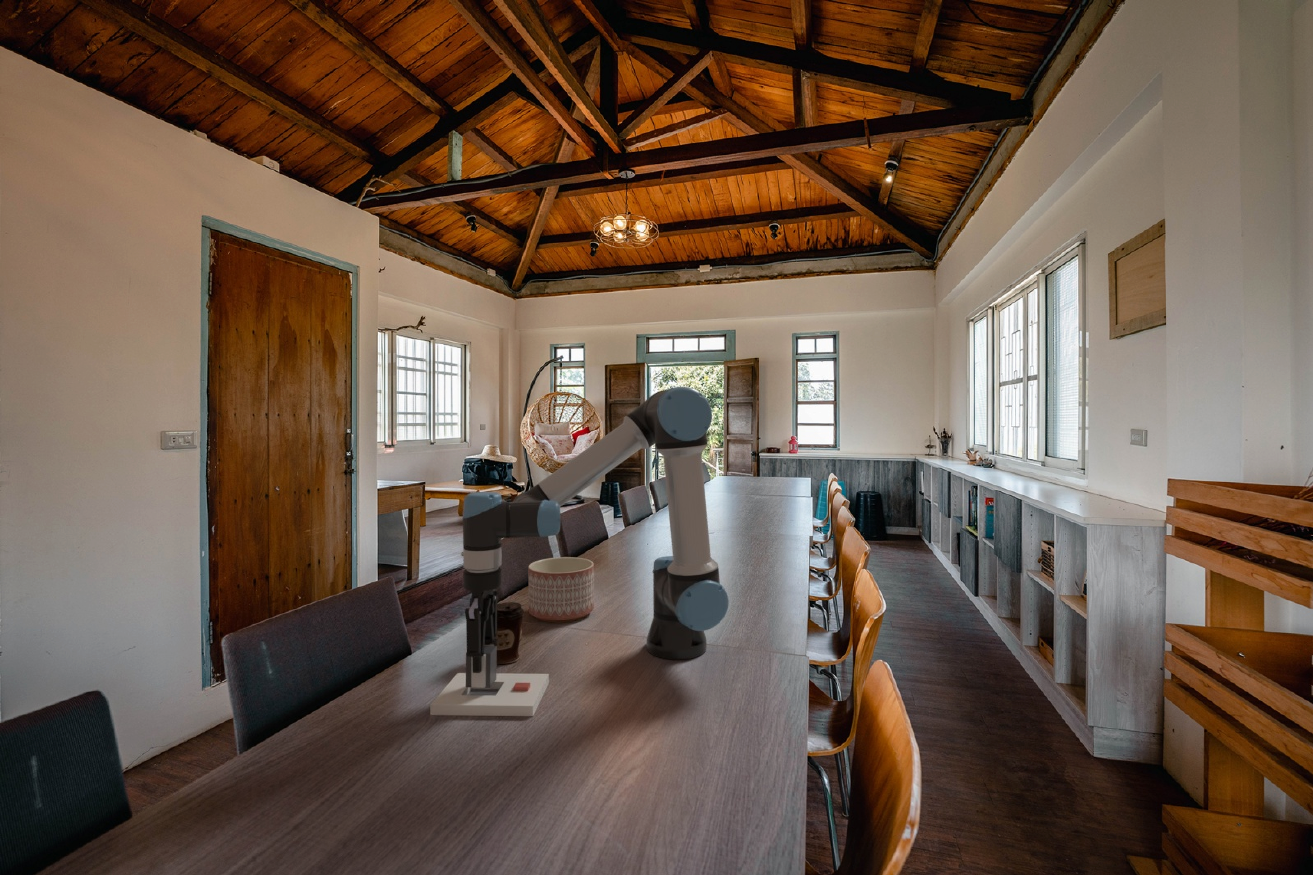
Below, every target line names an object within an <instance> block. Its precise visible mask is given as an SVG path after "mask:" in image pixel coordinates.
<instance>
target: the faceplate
mask: <svg viewBox="0 0 1313 875" xmlns="http://www.w3.org/2000/svg"><path fill="white" fill-rule="evenodd" d="M549 683H550V673H508V672H507V673H504V672H503V673H500V672H499V673H498V672H496V680H495V682H494V683H493V685H492V686H491V688H473V687H466V672H457V673H456V674H455V676H454V677H453V678H452V679H451V680H450V682H449V683H447V685H446V686H445V687H444V688H443V690H442V691H441V692H440V693H439V694H438V696H436V697H435V699H434V700H433V701H432V702H431V703H430V705H429V709H430V710H429V711H430V716H468V717H469V716H478V717H479V716H483V717H486V716H489V717H502V716H503V717H534V715H535V713H536V711H537V709H538V707H539V705H540V703H541V701H542V698H543V697H544V694H545V692H546V690H547V688H548V686H549Z"/></svg>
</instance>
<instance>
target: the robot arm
mask: <svg viewBox="0 0 1313 875" xmlns="http://www.w3.org/2000/svg"><path fill="white" fill-rule="evenodd" d="M712 419H713V412H712V408H711V404H710V403H709V401H708V399H707V398H706V396H705V395H704V394H702V393H701V392H700V391H698V390H697V389H696V388H695V389H694V388H692V387H688V386H676V387H671V388H667V389H663V390H659V391H657V392H655V393H653V394H652V395H650V396H649V397H648V398H647V399H645V401H643V402H642V403H641V404H640V405H639V406H637V407H636V408H635V409H633V410H632V411H631V412H630V413H629V414H627V415H625V416H624V417H623V422H622V424H620V425H619V426H617V427H615V429H613V430H611V431H610V432H609V433H607V434H606V435H604V436H603V437H602V438H600V439H599V440H597V441H596V442H595V443H593V444H592V445H590V446H588V448H586V449H585V450H583V451H582V452H581V453H579V454H578V455H576V456H575V457H573V458H572V459H570V460H569V461H567V463H564V465H562V466H561V467H559V468H557V469H556V470H555V471H553V472H552V473H551V474H549V475H548V476H547V477H544V479H542V480H540V481H539V482H538V483H537V484H536V485H534V486H532V487H531V488H529V489H528V490H527V491H524V492H521V493H519V494H518V495H517V496H515V498H514V499H513V501H506V500H505V501H503V498H502V494H501V493H499V492H497V491H477V492H476V491H475V492H471V493H470V492H469V493H468V494H467V495H466V496H465V497H464V498H463V507H462V509H463V510H462V543H463V544H462V550H463V551H461V553H460V556H461V557H462V558H463V559H462V560H463V569H464V571H462V579H463V580H462V586H463V589H464V590H466V591H469V592H470V593H471V597H470V598H469V599H470V600H469V608H468V607H466V608H465V610H464V615H465V622H466V623H465V624H466V625H465V626H466V628H465V630H466V631H465V632H466V652H467V654H466V653H465V657H466V656H467V657H471V687H475V688H485V687H486V654H484V646H493V645H492V644H497V642H498V639H494V637H496V636H497V604H498V597H499V590H496V589H498V588H499V587H501V586H502V568H501V566H502V562H503V561H502V554H503V553H502V552H503V551H502V548H503V547H502V539H512V538H516V539H517V538H539V537H540V538H545V537H551V536H557V535H558V534H559V533H560V532H561V507H562V506H564V505H565V504H566V503H568V502H569V501H570V500H572V499H573V498H575V497H577V495H579V494H580V493H581V492H583V491H584V490H585V489H587V488H588V487H590V486H592V485H593V484H594V483H595V482H597V481H598V480H600V479H601V478H602V477H604V476H605V475H606V474H608V473H609V472H611V471H612V470H614V469H616V467H618V466H619V465H620V464H622V463H623V462H624V461H626V460H628V458H630V457H632V456H633V455H634V454H635V453H637V452H638V451H640V450H641V449H643V450H649V448H651V447H652V446H654V445H655V450H656V451H657V452H658V453H659V454H660V455H661V456H662V457H663V465H664V475H665V486H666V487H665V488H666V495H667V497H666V498H667V507H668V516H669V517H668V519H669V527H670V528H669V529H670V530H669V531H670V539H671V549H672V550H671V552H672V555H668V556H660V557H658V558H655V559H654V561H653V567H652V568H653V569H652V574H653V575H652V577H653V579H652V581H653V583H652V586H653V587H652V588H653V590H652V591H653V592H652V593H653V595H652V596H653V597H652V598H653V600H652V602H653V614H652V615H653V618H652V621H651V624H650V627H649V629H648V634H647V636H646V650H647V651H648V653H649V654H651V655H653V656H655V657H658V658H660V659H667V660H688V659H689V660H690V659H694V658H697V657H699V656H701V655H703V654H704V653H705V652H707V646H708V645H707V643H708V642H707V637H706V634H705V631H709V630H711V629H713V628H715V627H716V626H718V625H719V624H720V623H721V621H722V620H723V619H725V617H726V614H727V612H728V610H729V596H728V592H727V590H726V589H725V587H724V586H723V585H722V584H721V583H720V582H721V581H720V571H719V563H718V562H717V561H716V560H715V559H713V558H712V557H711V544H710V536H709V524H708V513H707V512H708V511H707V501H706V500H707V499H706V490H705V478H704V467H703V456H702V454H703V452H704V451H705V449H706V448H707V447H708V436H707V435H708V434H707V432H708V431H709V428H710V426H711V424H712V421H713V420H712Z"/></svg>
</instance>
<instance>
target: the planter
mask: <svg viewBox="0 0 1313 875" xmlns="http://www.w3.org/2000/svg"><path fill="white" fill-rule="evenodd" d="M527 568H528V577H527V578H528V613H529V615H531V616H532V617H535V618H536V619H538V620H539V621H542V622H547V623H555V624H556V623H559V624H560V623H571V622H574V621H578V620H580V619H584V618H585V617H586V616H587V615H588V614H591V613H592V612H593V610H594V609H595V563H594V562H593V561H592V560H590V559H587V558H582V557H573V556H572V557H571V556H563V557H549V558H543V559H539V560H536V561H532V562H531V563H530V564H529V565H528V567H527Z"/></svg>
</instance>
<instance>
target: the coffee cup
mask: <svg viewBox="0 0 1313 875" xmlns="http://www.w3.org/2000/svg"><path fill="white" fill-rule="evenodd" d="M524 614H525V609H523V608H522V604H521V603H519V602H517V601H516V602H514V601H513V602H512V601H511V602H510V601H509V602H502V603H497V636H496V637H494V639H498V642H497V644H492V645H493V646H497V664H501V665H502V664H503V665H504V664H512V663H516V662H517V661H519V660H520V654H519V646H520V643H521V641H522V634H523V619H524Z"/></svg>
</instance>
